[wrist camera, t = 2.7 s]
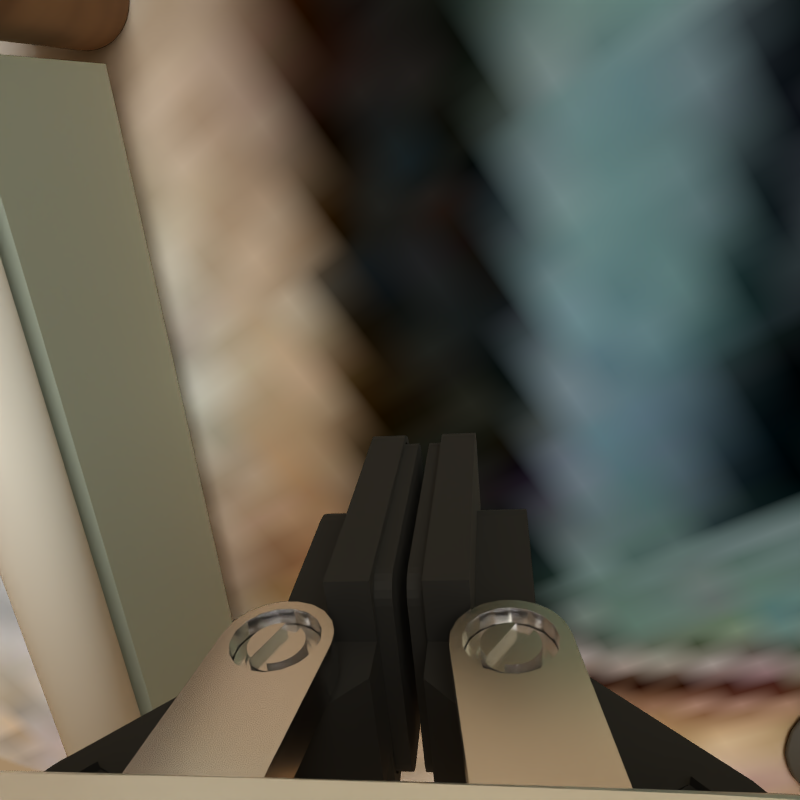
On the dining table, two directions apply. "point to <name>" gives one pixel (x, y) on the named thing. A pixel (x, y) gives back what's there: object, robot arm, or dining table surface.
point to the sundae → (794, 752)
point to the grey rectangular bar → (92, 419)
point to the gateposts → (62, 22)
